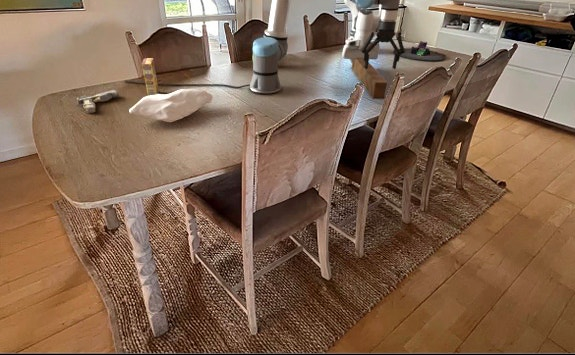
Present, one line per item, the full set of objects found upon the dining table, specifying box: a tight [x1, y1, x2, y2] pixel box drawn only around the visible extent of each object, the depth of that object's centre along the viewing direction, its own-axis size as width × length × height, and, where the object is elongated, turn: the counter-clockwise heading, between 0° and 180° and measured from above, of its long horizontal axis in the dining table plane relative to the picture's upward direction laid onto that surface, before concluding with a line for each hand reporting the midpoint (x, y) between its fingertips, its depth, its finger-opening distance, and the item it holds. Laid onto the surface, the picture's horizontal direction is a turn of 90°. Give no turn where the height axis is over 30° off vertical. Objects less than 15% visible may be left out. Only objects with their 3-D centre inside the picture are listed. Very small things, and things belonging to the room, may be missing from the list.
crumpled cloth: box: [129, 88, 214, 123], centre depth 147 cm, size 24×35×9 cm
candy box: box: [141, 57, 160, 96], centre depth 163 cm, size 9×4×15 cm, turn 13°
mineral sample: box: [392, 40, 447, 61], centre depth 247 cm, size 35×35×9 cm
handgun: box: [76, 89, 120, 114], centre depth 155 cm, size 3×18×15 cm
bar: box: [350, 58, 388, 99], centre depth 193 cm, size 51×6×8 cm, turn 4°
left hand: (379, 68), depth 172 cm, fingers open, 13 cm apart
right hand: (358, 66), depth 210 cm, fingers closed on bar, 5 cm apart
